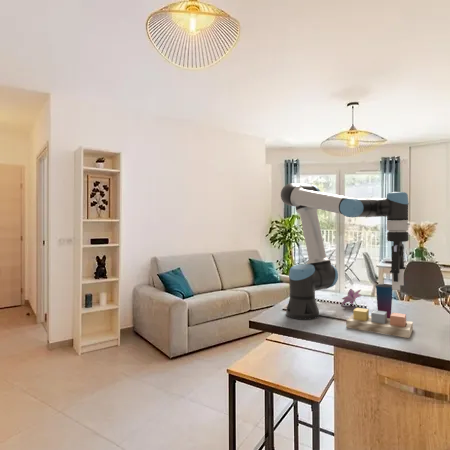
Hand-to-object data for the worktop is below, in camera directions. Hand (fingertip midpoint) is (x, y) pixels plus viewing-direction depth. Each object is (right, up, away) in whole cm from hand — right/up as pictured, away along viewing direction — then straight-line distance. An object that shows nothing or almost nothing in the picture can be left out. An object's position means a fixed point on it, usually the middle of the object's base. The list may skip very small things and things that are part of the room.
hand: (398, 287), depth 131 cm
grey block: (-6, -15, +4) cm, 17 cm away
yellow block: (-11, -15, +8) cm, 21 cm away
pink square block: (0, -15, 0) cm, 15 cm away
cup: (+3, -17, +16) cm, 24 cm away
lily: (-3, -17, +38) cm, 42 cm away
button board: (-5, -18, +4) cm, 19 cm away
